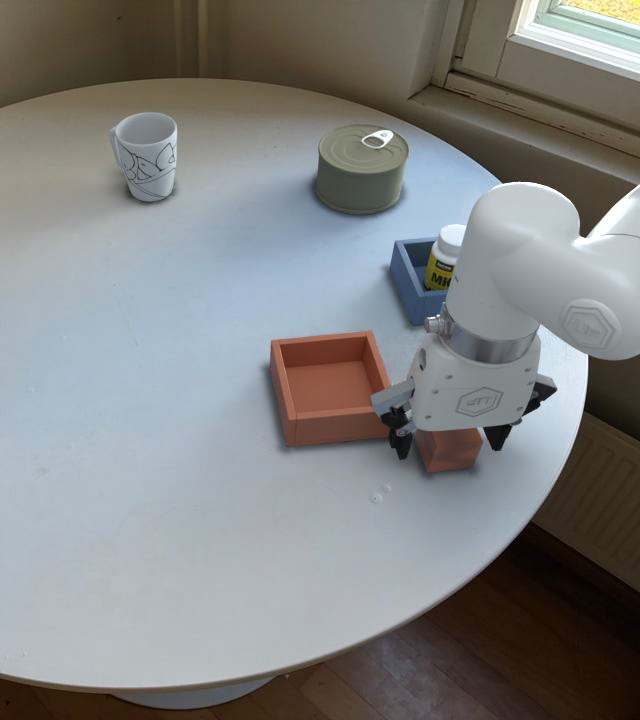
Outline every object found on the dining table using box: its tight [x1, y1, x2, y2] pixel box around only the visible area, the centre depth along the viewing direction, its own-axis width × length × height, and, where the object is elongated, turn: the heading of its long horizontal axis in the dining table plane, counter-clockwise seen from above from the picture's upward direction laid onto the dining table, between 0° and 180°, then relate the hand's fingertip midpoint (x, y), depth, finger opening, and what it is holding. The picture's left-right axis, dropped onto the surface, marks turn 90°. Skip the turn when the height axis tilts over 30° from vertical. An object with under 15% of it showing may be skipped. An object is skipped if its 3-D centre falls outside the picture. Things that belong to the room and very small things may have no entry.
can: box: [315, 123, 411, 216], centre depth 106 cm, size 12×12×7 cm
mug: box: [108, 111, 178, 203], centre depth 109 cm, size 11×8×10 cm
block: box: [414, 428, 484, 473], centre depth 76 cm, size 4×4×4 cm
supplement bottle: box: [423, 223, 467, 292], centre depth 90 cm, size 5×5×8 cm
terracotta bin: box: [269, 330, 395, 448], centre depth 82 cm, size 11×11×5 cm
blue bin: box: [389, 236, 449, 326], centre depth 92 cm, size 10×10×5 cm
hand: (444, 443), depth 77 cm, fingers open, 8 cm apart
